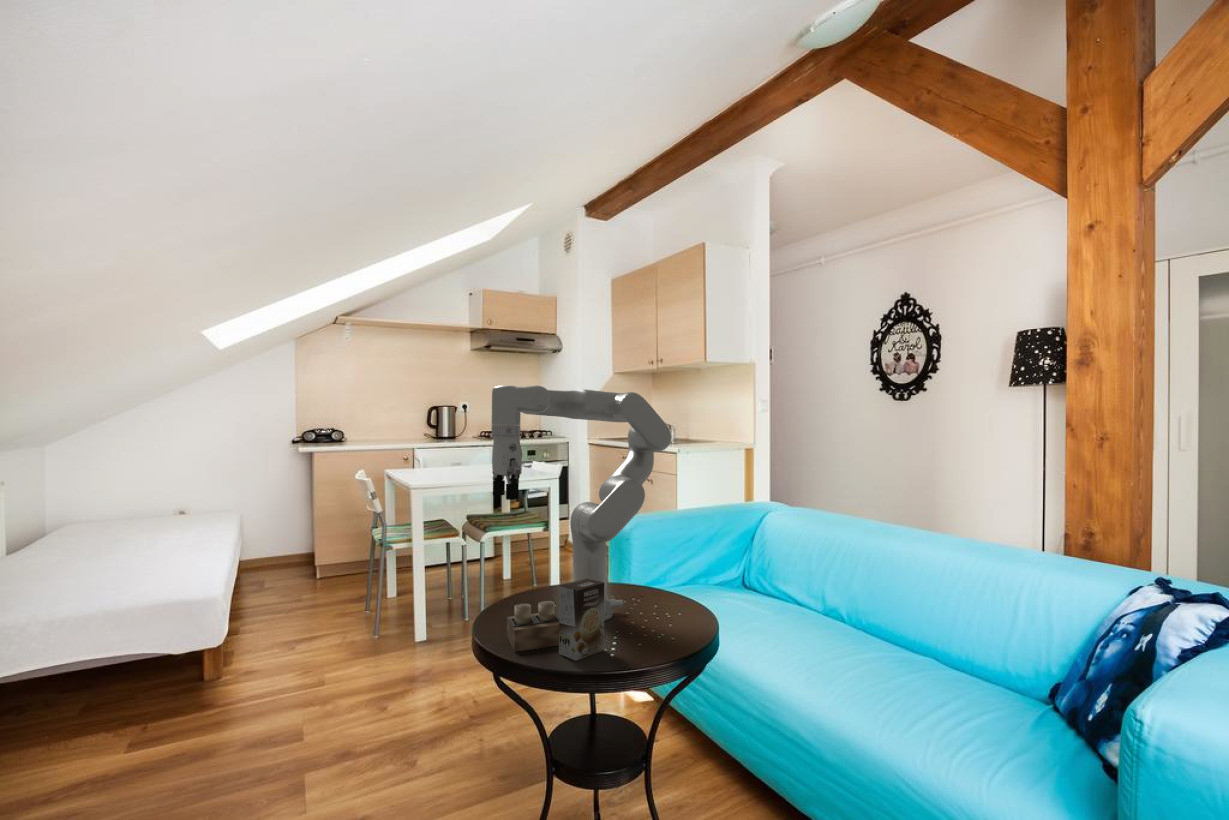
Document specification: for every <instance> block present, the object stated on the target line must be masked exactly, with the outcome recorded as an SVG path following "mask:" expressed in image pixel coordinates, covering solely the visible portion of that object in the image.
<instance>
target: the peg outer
mask: <svg viewBox="0 0 1229 820" xmlns="http://www.w3.org/2000/svg"><path fill="white" fill-rule="evenodd" d="M531 614H532V605H531V604H530V603H519V604H515V605H514V616H515V625H519V624H527V623H531Z"/></svg>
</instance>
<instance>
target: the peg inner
mask: <svg viewBox="0 0 1229 820" xmlns="http://www.w3.org/2000/svg"><path fill="white" fill-rule="evenodd" d="M537 608H538V610H537V611H538V612H537V613H538V620H539V622H542V621H550V620H555V614H556V611H555V610H556V609H555V602H554V601H550V600H545V601H540V602H538V606H537Z"/></svg>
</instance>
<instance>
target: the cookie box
mask: <svg viewBox="0 0 1229 820" xmlns="http://www.w3.org/2000/svg"><path fill="white" fill-rule="evenodd" d="M558 605H559V606H558V607H559V611H558V612H559V613H558V614H559V615H558V617H559V645H558V654H559V655H561V656H563V657H565V658H568V659H571V660H573V661H575V662H576V661H579V660H583V659H584V658H587V657H590V656H592V655H595V654H597V653H600V652H602V651H604V650H605V621H604V583H603V582H600V581H596V580H591V579H583V580H578V581H574V582H573V581H570V582H568V583H567V582H566V583H563V584H559V604H558Z"/></svg>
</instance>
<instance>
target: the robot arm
mask: <svg viewBox="0 0 1229 820" xmlns="http://www.w3.org/2000/svg"><path fill="white" fill-rule="evenodd" d="M521 413H523V414H524V415H533V416H534V415H535V416H547V417H557V418H558V417H560V418H566V419H570V420H571V419H573V420H583V421H584V420H585V421H598V422H609V423H628V424H629V426H630V428H629V430H628V433H627V444H628V452H627V456H626V457H625V459H624V461H623V462H622V463H621V464H620V465H619V466H618V467H617V468H616V469H615V470H614V471H613V472H612V473H611V475H609V477H608V478H606V479H605V480H604V482H603V483H602V484H601V485H600V487H599V491H598V496H599V497H598V498H599V500H600V501H601V502H600V503H595V502H593V501H586V502H585V501H584V502H582V503H579V504H578V505H576V507H574V508H573V510H572V512H571V516H570V523H569V524H570V532H571V540H572V542H571V543H572V582H574V581H578V580H583V579H591V580H596V581H600V582H603V583H604V622H605V621H608V620H610V619H611V618H612V617H613V609H614V608H621V607H624V605H625V604H624V600H623V599H616V598H611V599H610V598H608V587H607V586H608V582H607V581H608V576H607V575H608V572H607V570H608V569H607V567H608V563H607V562H608V556H607V555H608V552H607V551H608V550H607V549H608V548H607V543H608V542H609V541H611V540H613V539H614V538H615V537H616V536H618V535H619V534H620V532H622V531H623V529H624V528H625V527H626V526H627V525H628V524H629V522H630V521H631V520H632V519H633V518H634V517H635V516H636V515H637V513H639V511H640V510H641V508H642V506H643V504H644V502H645V498H646V493H645V489H644V486H643V484H644V483H645V482H646V480H648V478H649V477H650V475H651V473H652V472H653V469H654V465H655V463H654V461H655V453H659V452H663V451H665V450H666V449H667V448H668V447H669V446H670V444H671V442H672V434H671V431H670V427H669V426H668V424H667V423H666V422H665V421H664V420H663V418H662V417H661V416H660V415H659V414H658V413H657V412H656V410H655V409H654V408H653V407H652V405H651V404H650V403H649V402H648V401H647V399H645V398H644V397H643V396H642V395H641V394H639V393H637V392H633V391H629V392H628V391H627V392H612V391H602V390H594V389H593V390H592V389H582V388H580V389H570V390H569V389H568V390H552V389H547V388H546V387H544V386H542V385H527V386H515V385H497V386H494V387H493V388H492V390H491V436H490V437H491V438H493V442H492V443H493V445H492V459H491V460H492V461H491V462H492V465H491V467H492V472H491V473H492V495H493V496H495V497H497V496H505V500H509V501H510V500H511V501H512V500H518V499H519V493H520V491H519V487H520V485H519V483H520V476H521V474H522V472H523V470H522V468H523V467H522V448H521V440H520V439H521V415H522V414H521ZM505 478H506V481H505Z"/></svg>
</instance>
